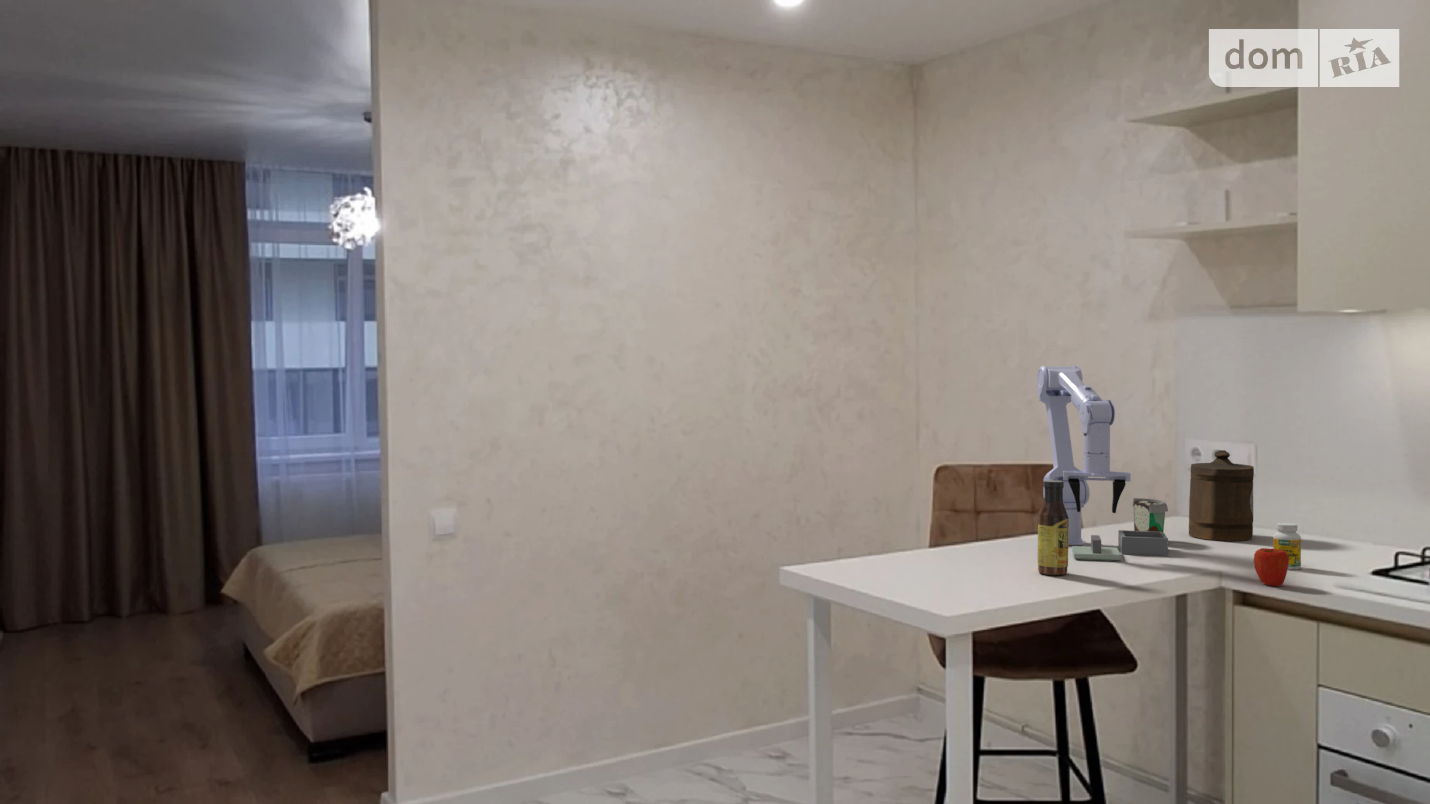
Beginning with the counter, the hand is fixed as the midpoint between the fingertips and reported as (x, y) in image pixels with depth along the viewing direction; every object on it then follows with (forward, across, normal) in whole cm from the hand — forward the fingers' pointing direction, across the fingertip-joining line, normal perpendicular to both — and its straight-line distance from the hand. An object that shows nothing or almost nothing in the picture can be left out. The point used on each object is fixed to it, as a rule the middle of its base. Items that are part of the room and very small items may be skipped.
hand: (1096, 511), depth 254 cm
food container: (+11, +15, +25) cm, 31 cm away
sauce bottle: (+11, -10, -22) cm, 26 cm away
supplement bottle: (+11, +39, -4) cm, 41 cm away
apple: (+11, +32, -24) cm, 41 cm away
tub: (+10, +11, +10) cm, 18 cm away
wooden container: (+11, +32, +36) cm, 49 cm away
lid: (+11, 0, 0) cm, 11 cm away
